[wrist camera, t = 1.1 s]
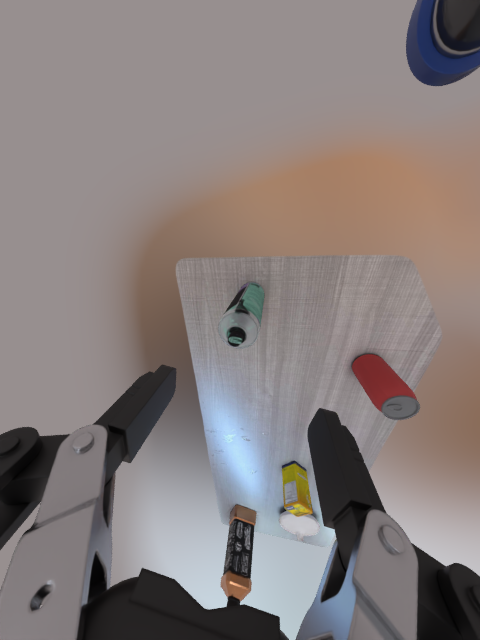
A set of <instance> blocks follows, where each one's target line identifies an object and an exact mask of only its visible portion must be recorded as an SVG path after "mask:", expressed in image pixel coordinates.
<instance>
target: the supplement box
mask: <svg viewBox="0 0 480 640" xmlns="http://www.w3.org/2000/svg"><path fill="white" fill-rule="evenodd" d="M282 475H283V494H284V508H285V509H286V510H287V511H289V512H290V513H292V514H293V515H295V516H296V517H300V516H304V515H308V514H312V513H313V511H312V504H311V498H310V491H309V485H308V479H307V472H306V469H305V468H303V467H302V466H301V465H299V464H298V463H297V462H295V461H293V462H291V463H289V464H287V465H284V466H282Z"/></svg>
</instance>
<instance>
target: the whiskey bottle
mask: <svg viewBox="0 0 480 640" xmlns="http://www.w3.org/2000/svg"><path fill="white" fill-rule="evenodd" d="M255 523H256V512H255V511H253V510H250V509H248V508H245V507H242V506H240V505H235V507H234V508H233V509H232V511H231V512H230V521H229V524H230V527H229V535H228V542H227V550H226V558H225V565H224V573H223V576H222V578H221V587H222V589H223V590H224V592H225V594H226V596H227V597H228V602H227V607H230V606H237V605H240V601H242V600H243V599H244V598H245V596H246V595H247V594H248V593H249V592H250V591H251V580H250V577H251V564H252V550H253V537H254V526H255Z"/></svg>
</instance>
